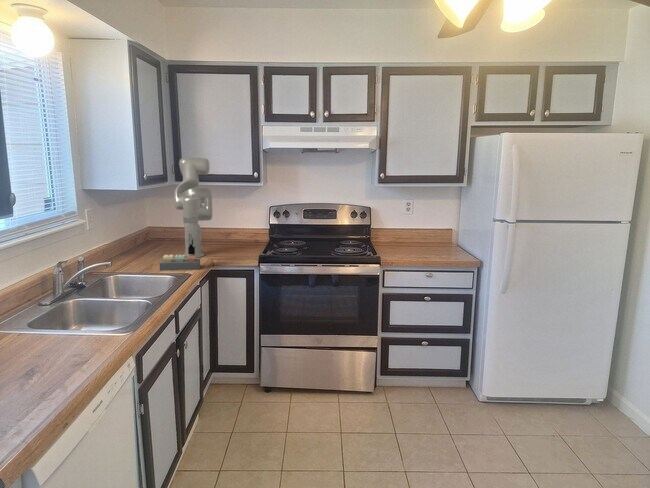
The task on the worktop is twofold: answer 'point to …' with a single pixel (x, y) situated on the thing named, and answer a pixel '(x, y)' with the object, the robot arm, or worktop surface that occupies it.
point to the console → (180, 265)
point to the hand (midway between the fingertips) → (191, 254)
